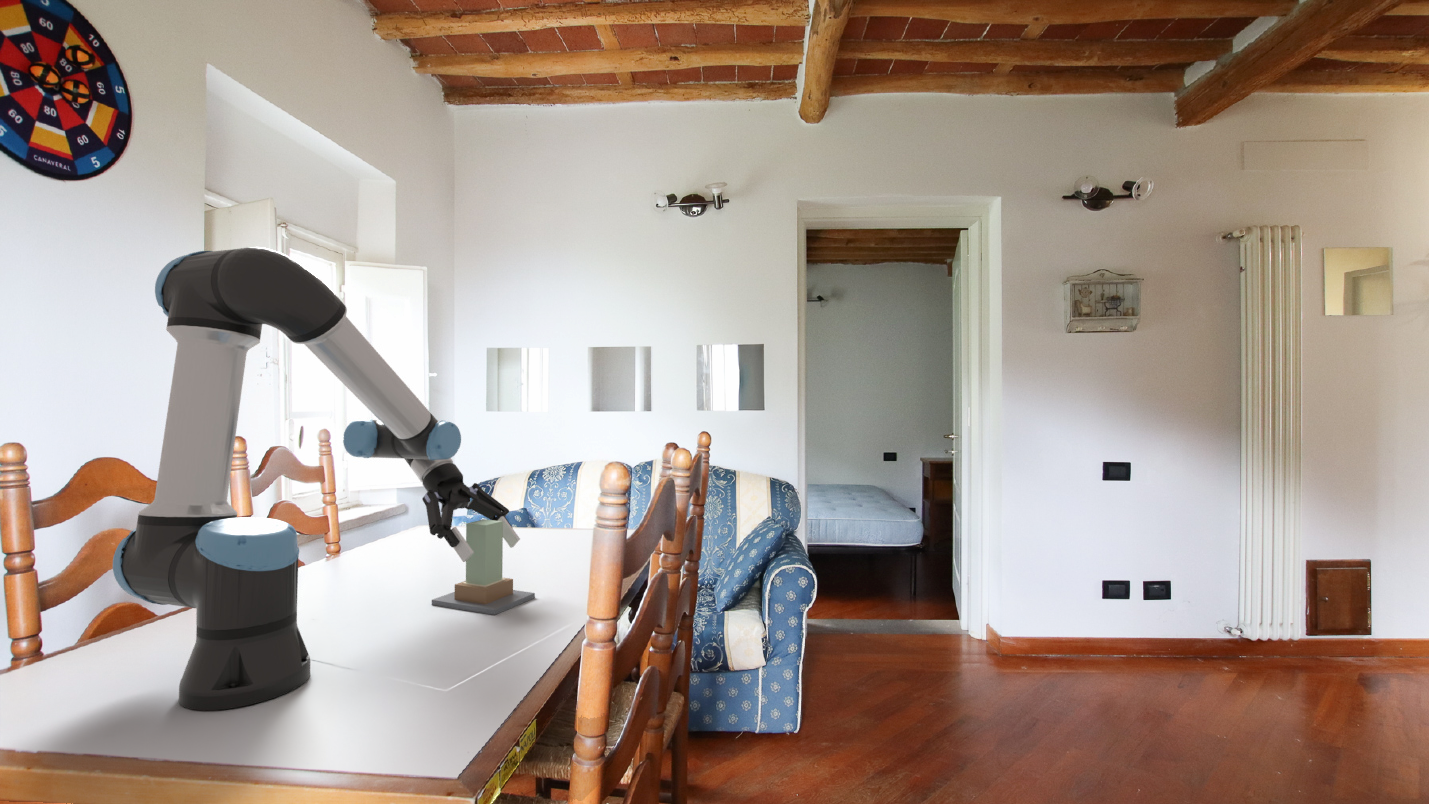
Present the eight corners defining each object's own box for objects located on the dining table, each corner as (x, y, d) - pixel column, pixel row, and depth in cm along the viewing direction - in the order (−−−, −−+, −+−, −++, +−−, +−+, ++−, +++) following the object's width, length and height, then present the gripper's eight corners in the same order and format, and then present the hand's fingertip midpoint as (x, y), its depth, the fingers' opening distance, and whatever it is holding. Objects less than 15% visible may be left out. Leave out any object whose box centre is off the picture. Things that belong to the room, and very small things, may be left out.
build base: (494, 614, 122) (494, 593, 122) (431, 604, 128) (431, 583, 128) (534, 597, 133) (534, 577, 133) (475, 589, 139) (475, 569, 139)
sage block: (485, 585, 127) (485, 525, 127) (465, 582, 129) (466, 523, 129) (502, 578, 132) (502, 521, 132) (483, 576, 134) (483, 519, 134)
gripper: (471, 478, 148) (522, 549, 142) (378, 492, 125) (435, 576, 119) (489, 457, 146) (542, 527, 140) (398, 466, 123) (457, 550, 117)
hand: (493, 550), depth 130 cm, fingers open, 13 cm apart
